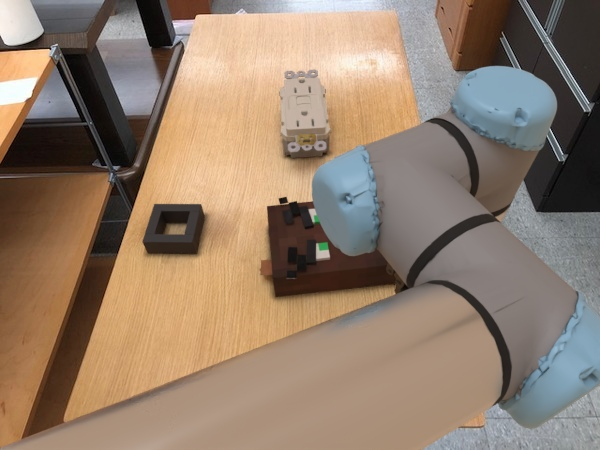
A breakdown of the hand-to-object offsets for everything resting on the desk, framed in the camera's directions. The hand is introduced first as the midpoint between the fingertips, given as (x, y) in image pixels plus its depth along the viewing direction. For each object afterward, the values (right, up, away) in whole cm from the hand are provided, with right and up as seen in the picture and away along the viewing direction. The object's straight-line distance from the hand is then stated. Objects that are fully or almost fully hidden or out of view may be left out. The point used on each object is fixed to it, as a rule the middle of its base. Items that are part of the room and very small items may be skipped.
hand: (418, 323), depth 63 cm
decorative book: (-10, +8, +26) cm, 29 cm away
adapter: (-42, +12, +30) cm, 54 cm away
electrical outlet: (-16, +37, +49) cm, 63 cm away
